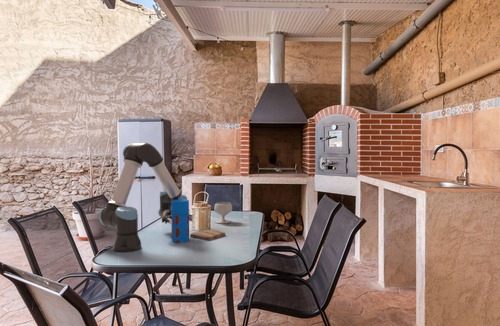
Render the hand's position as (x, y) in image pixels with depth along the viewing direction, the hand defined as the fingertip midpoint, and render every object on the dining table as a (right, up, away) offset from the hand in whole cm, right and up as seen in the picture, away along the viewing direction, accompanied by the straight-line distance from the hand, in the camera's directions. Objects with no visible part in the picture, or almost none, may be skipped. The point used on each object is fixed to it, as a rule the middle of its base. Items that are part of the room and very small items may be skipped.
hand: (182, 220), depth 213 cm
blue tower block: (-2, -13, +3) cm, 14 cm away
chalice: (+21, -11, +58) cm, 62 cm away
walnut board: (+14, -12, +13) cm, 23 cm away
